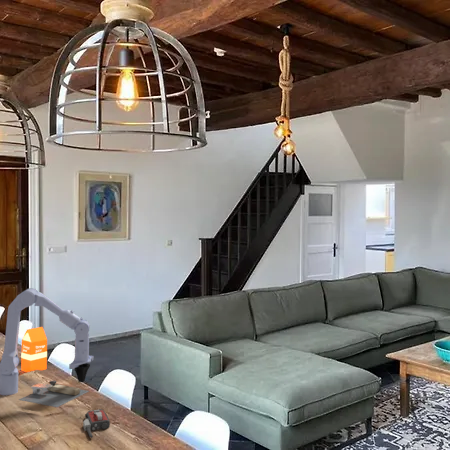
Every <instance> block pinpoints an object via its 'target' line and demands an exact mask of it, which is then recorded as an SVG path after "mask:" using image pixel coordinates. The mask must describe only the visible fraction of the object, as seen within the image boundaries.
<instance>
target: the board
mask: <svg viewBox="0 0 450 450" xmlns="http://www.w3.org/2000/svg"><path fill="white" fill-rule="evenodd" d="M87 393H90V390H86V389H81V388H80V393H79V394H77V395H70V394H64V393H59V392H53V391H48V390H42V389H40V393H39V394H37V395H35V394H33V393H31V394H28V395H26V396H23V397H21V398H19V399H18V401H23V402H28V403H33V404H38V405H42V406H49V407H54V408H59V407H61V406H63V405H64V404H66V403H68V402H71V401H73V400H75V399H77V398H79V397H81V396H83V395H85V394H87Z"/></svg>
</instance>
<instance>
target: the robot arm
mask: <svg viewBox="0 0 450 450" xmlns="http://www.w3.org/2000/svg"><path fill="white" fill-rule="evenodd" d="M33 305H34V307H43V308H45V309H46V310H48V311H49V312H52V313H53V314H54V315H56V316H58V318H59V319H58V320H59V322H61V323H62V324H63V325H64V326H67V328H69V329H70V330H73V331H74V334H75V338H74V360H73V361H72V362H71V363H69V367H68V369H69V370H74V372H75V373H76V377H77V380H78V382H79V383H84V382H85V380H86V377H87V373H88V371H89V369H90V367H91V364H90V363H92V361H94V355H90V333H89V332H90V326H91V325H90V322H89V321H88V320H87V319H84V318H83V317H80V316H79V315H77V314H76V313H74V312H75V311H74V310H73V309H71V310H70V309H64V308H62V307H61V306H59V305H58V304H57V303H55V302H54V301H53V300H52V299H50V298H49V297H48V296H46V295H45V294H44V293H43V292H40V291H38V290H37V289H36V288H34V287H29V288H26V289H25V290H23V291H22V292H21V293H19V294H18V295H16V297H15V298H14V299H13V301H11V302H10V304H9V305H8V309H7V316H6V324H5V325H6V327H5V336H4V338H5V339H4V345H3V352H2V355H1V360H0V395H1V396H12V395H16V394H17V393H18V392H19V369H18V368H17V367H19V364H20V358H19V356H18V355H19V351H18V343H19V341H18V340H19V333H20V332H19V331H20V322H21V321H20V320H21V312H22V310H24V309H26V308H28V307H31V306H33Z"/></svg>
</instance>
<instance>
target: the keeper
mask: <svg viewBox="0 0 450 450" xmlns="http://www.w3.org/2000/svg"><path fill="white" fill-rule="evenodd" d="M51 387H52V385H50V383H49V384H48V383H35V384H34V385H31V388H30V389H32V394H35V395H37V394H39V393H40V390H48V389H50V388H51Z"/></svg>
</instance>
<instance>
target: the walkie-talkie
mask: <svg viewBox="0 0 450 450" xmlns="http://www.w3.org/2000/svg"><path fill="white" fill-rule="evenodd" d="M84 417H85V419H84V421H83V422H82V423H83V424H82V426H83V430H84V432H87V433H88V436H89V438H91V439H92V438H93V434H92V431H97V430H105V429H109V428H110V425H111V421H110V419H109V417H108V415H107V413H106V411H105V410H104V409H102V408H99V409H93V410H92V409H91V410H88V411H87V412H86V413H85V414H84Z"/></svg>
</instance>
